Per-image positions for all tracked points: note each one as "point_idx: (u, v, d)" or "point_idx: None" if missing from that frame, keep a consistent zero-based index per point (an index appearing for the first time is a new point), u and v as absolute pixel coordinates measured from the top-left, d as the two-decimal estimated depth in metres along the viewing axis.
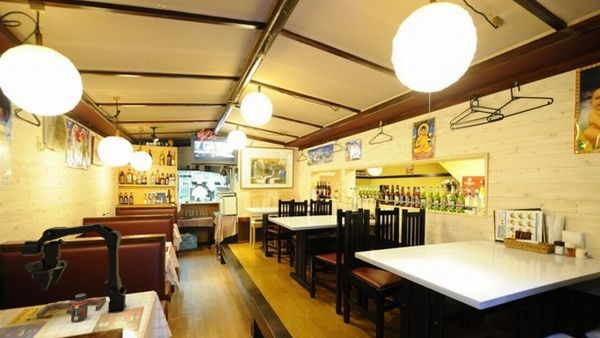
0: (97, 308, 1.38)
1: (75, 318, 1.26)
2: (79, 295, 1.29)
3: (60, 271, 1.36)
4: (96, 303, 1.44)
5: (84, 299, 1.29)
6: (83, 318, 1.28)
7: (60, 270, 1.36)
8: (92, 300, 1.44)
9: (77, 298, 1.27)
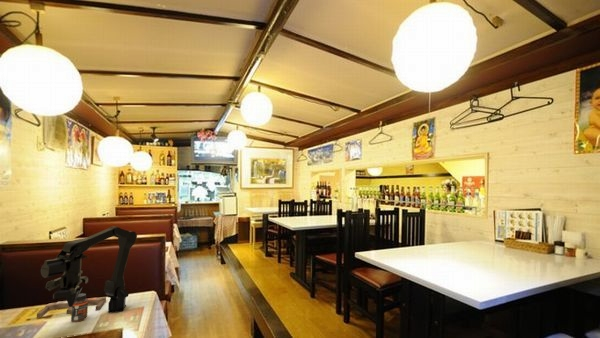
0: (97, 308, 1.38)
1: (75, 318, 1.26)
2: (79, 295, 1.29)
3: None
4: (96, 303, 1.44)
5: (84, 299, 1.29)
6: (83, 318, 1.28)
7: None
8: (92, 300, 1.44)
9: (77, 298, 1.27)
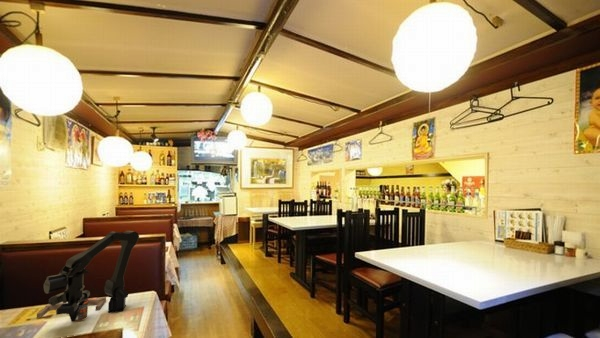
0: (97, 308, 1.38)
1: None
2: None
3: (79, 306, 1.24)
4: (96, 303, 1.44)
5: (84, 299, 1.29)
6: (83, 318, 1.28)
7: None
8: (92, 300, 1.44)
9: None
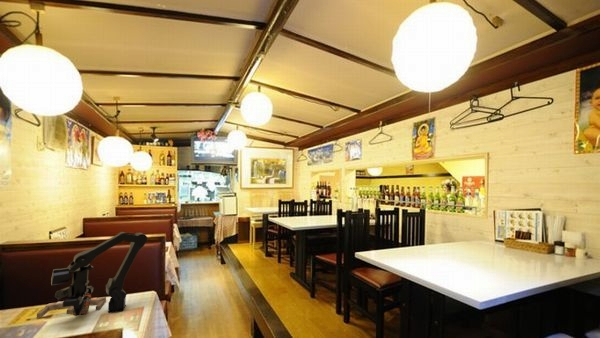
0: (97, 308, 1.38)
1: None
2: None
3: None
4: (96, 303, 1.44)
5: (88, 292, 1.35)
6: (84, 311, 1.30)
7: None
8: (92, 300, 1.44)
9: None
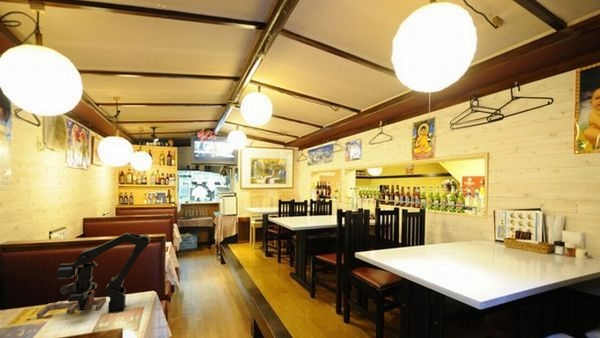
0: (97, 308, 1.38)
1: None
2: None
3: None
4: (96, 303, 1.44)
5: (91, 289, 1.40)
6: (88, 306, 1.35)
7: None
8: None
9: None
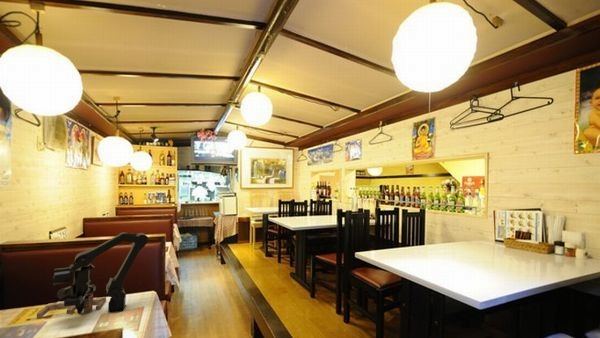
0: (97, 308, 1.38)
1: None
2: None
3: None
4: (96, 303, 1.44)
5: (89, 293, 1.36)
6: (88, 311, 1.35)
7: None
8: None
9: None
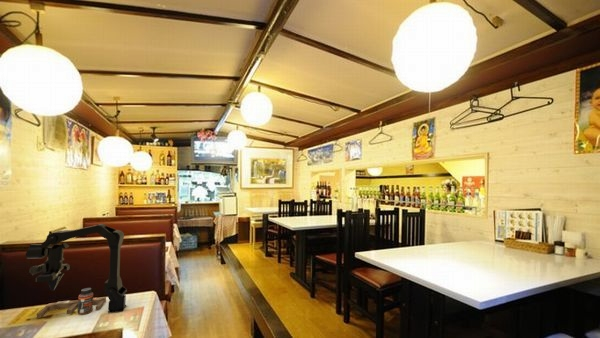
0: (97, 308, 1.38)
1: (81, 310, 1.33)
2: (85, 289, 1.36)
3: (58, 277, 1.33)
4: (96, 303, 1.44)
5: (89, 293, 1.36)
6: (88, 311, 1.35)
7: None
8: None
9: (83, 292, 1.34)
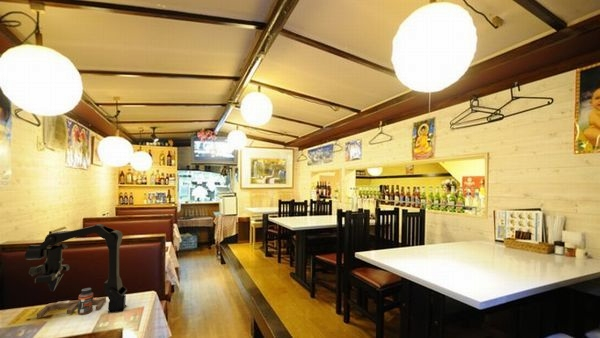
0: (97, 308, 1.38)
1: (81, 310, 1.33)
2: (85, 289, 1.36)
3: None
4: (96, 303, 1.44)
5: (90, 293, 1.36)
6: (88, 311, 1.35)
7: None
8: None
9: (83, 292, 1.35)
